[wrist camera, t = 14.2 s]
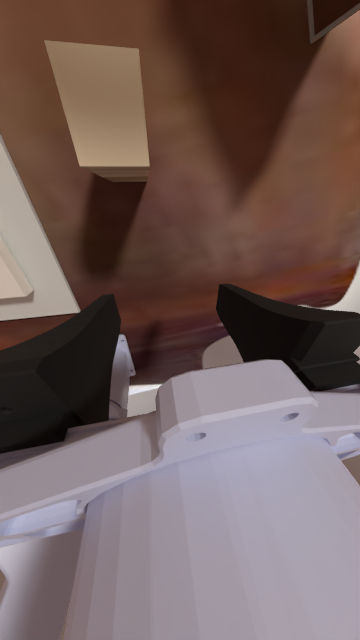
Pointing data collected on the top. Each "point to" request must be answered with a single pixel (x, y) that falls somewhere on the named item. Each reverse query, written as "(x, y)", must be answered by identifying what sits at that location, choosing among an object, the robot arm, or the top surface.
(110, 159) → the stick
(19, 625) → the robot arm
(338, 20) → the food container
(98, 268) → the top surface
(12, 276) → the tile
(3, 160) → the mat
